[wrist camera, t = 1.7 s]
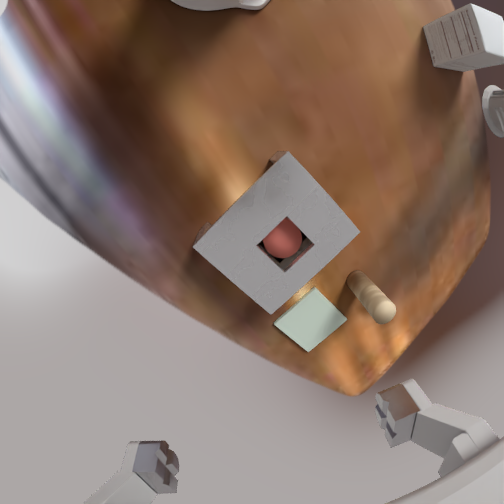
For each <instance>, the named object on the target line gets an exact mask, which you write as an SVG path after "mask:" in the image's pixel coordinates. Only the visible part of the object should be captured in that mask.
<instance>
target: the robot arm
mask: <svg viewBox="0 0 504 504" xmlns="http://www.w3.org/2000/svg"><path fill="white" fill-rule="evenodd" d="M171 1H173V2H174V3H176V4H178V5H180V6H182V7H185V8H189V9H194V10H203V11H210V10H221V9H227V8H234V7H238V8H244V9H250V10H259V9H262V8H263V7H264V6H265V5H266V4H267V3H268V2H269V1H270V0H171ZM376 401H377V403H378V404H377V406H376V407H375V413H376V418H377V420H378V423H379V425H380V427H381V428H382V429H385V437H386V439H387V441H388V443H389V445H390V447H391V448H392V447H394V446H397V445H399V444H402V443H404V442H407V441H409V440H411V441H412V442H414V443H416V444H418V445H420V446H422V447H423V448H425V449H427V450H429V451H431V452H433V453H435V454H437V455H439V456H441V457H443V458H444V461H443V463H442V465H441V467H440V469H439V471H438V473H439V475H440V477H441V478H439V479H437V480H435V481H433V482H431V483H429V484H428V485H426V486H424V487H422V488H419V489H417V490H415V491H413V492H411V493H409V494H407V495H404V496H402V497H400V498H398V499H395V500H393V501H390V502H388V503H386V504H504V437H503V438H501V439H499V438H498V436H497V435H496V434H495V433H494V431H493V430H492V429H491V427H490V426H489V425H488V424H487V422H486V421H485V420H484V419H483V418H479V417H476V416H473V415H470V414H466V413H464V412H460V411H457V410H454V409H451V408H448V407H446V406H442V405H440V404H437V403H436V404H432V403H431V402H430V400H429V399H428V398H427V396H426V395H425V393H424V392H423V391H422V389H421V388H420V387H419V385H418V384H417V383H416V381H415V380H413V379H410V380H408V381H405V382H403V383H401V384H398V385H395V386H393V387H391V388H388V389H386V390H383V391H381V392H378V393H377V394H376ZM168 448H169V445H168V444H167V442H166V441H135V442H134V441H131V442H129V444H128V446H127V449H126V452H125V456H124V460H123V463H122V467H121V471H120V472H117V473H116V474H114V475H113V476H112V477H111V478H110V479H109V480H108V481H107V482H106V483H105V484H104V485H103V486H101V487H100V488H99V489H98V490H97V491H96V492H95V493H94V494H93V495H91V496H90V497H89V498H88V499H87V500H86V501H85V502H84V504H151V503H152V502H153V500H154V499H155V498H156V496H157V494H158V493H176V492H177V482H178V480H177V479H176V477H175V475H176V474H177V473H178V472H179V462H178V458H177V456H176V454H175V453H174V451H172V450H170V449H168Z"/></svg>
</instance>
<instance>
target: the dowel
mask: <svg viewBox="0 0 504 504" xmlns="http://www.w3.org/2000/svg"><path fill="white" fill-rule="evenodd" d="M347 285H348V287H349V288H350V289H351V290H352V292H353V293H354V294H355V296H356V297H357V298H358V299H359V301H360V302H361V303H362V304H363V306H364V307H365V308H366V310H367V311H368V312H369V313H370V315H371V316H372V317H373V319H374V320H375V321H376V322H377V323H378V324H385V323H388V322H389V321H390V320H392V318H393V317H394V315H395V313H396V307H395V305H394V304H393V303H392V302H391V301H390V300H389V299H388V298H387V297H386V296H385V295H384V293H383V292H382V291H381V290H380V289H379V288H378V287H377V286H376V285H375V284H374V283H373V282H372V281H371V280H370V279H369V278H368V277H367V276H366V275H365V274H364V273H363V272H362V271H360V270H356V271H353V272H351V273H350V274H349V275H348V277H347Z"/></svg>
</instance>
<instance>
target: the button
mask: <svg viewBox="0 0 504 504" xmlns="http://www.w3.org/2000/svg"><path fill="white" fill-rule="evenodd" d="M263 243H264V246H265V248H266V250H267V251H268V253H269V254H271V255H272V256H274V257H277V258H287V257H290V256H292V255H293V254H295V253H296V252H297V251H298V249H299V248H300V246H301V243H302V235H301V232H300V230H299V228H298V227H297V226H296V225H295V224H294V223H293V222H292V221H291V220H290V219H289V218H288V217H285V218H284V219H283V220H282V221H281V222H280V223H279V224H278V225H277V226H276V227H275V228H274V229H273V230H272V231H271V232H270V233H269V234H268V235H267V236H266V237H265V238H264V239H263Z"/></svg>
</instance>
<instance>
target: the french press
mask: <svg viewBox="0 0 504 504" xmlns="http://www.w3.org/2000/svg"><path fill="white" fill-rule="evenodd" d="M482 99H483V101H482V108H483V112H484V117H485V120H486V122H487V124H488V126H489V128H490V130H491V131H492V132H493V133H494V134H495V135H496V136H498V137H500V138H502V137H504V90H501V89H500V88H498V87H496V86H495V85H492V86H491V85H490V86H488V87H487V88H486V89H485V91H484V94H483V97H482Z"/></svg>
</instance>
